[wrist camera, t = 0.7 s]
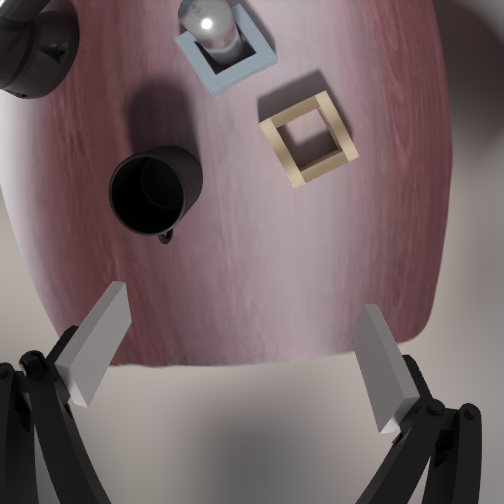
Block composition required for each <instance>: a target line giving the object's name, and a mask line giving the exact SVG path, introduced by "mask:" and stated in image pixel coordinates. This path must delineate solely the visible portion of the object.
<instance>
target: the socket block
mask: <svg viewBox="0 0 504 504" xmlns="http://www.w3.org/2000/svg"><path fill="white" fill-rule="evenodd" d="M230 9H231V12H232V15H233V18H234V21H235V24H236V27H237V28H238V30H239V31H240V33H241V34H242V36H243V37H244V38H245V40H246V41H247V43H248V44H249V46H250V47H251V49H252V50H253V52H254V53H255V54H254V55H252V56H250V57H248V58H246V59H244V60H242V61H241V62H239V63H237V64H235V65H233V66H231V67H229V68H228V69H226V70H224V71H222V72H221V73H219V74H216V72H215V71H214V69H213V68H212V66H211V65H210V63H209V62H208V60H207V59H206V57H205V56H204V54H203V53H202V51H201V50H200V48H199V46H201V44H200V43H199V42H198V41H197V40H196V39H195V38H194V36H193V35H192V34H191V33H190V32H189V31H186V32H185V33H183V34H182V35H180V36H178V37H177V38H175V41H176V42H177V44H178V45H179V47H180V48H181V50H182V51H183V53H184V54H185V56H186V57H187V59H188V60H189V62H190V63H191V65H192V67H193V68H194V70H195V71H196V73H197V74H198V76H199V77H200V79H201V81H202V82H203V84H204V85H205V87H206V88H207V90H208V92H209V93H210V95H213V96H216V95H218V94H219V93H221V92H223V91H225V90H226V89H228V88H230V87H232V86H233V85H235V84H237V83H239V82H241V81H243V80H244V79H246V78H248V77H250V76H252V75H254V74H256V73H258V72H260V71H262V70H264V69H266V68H268V67H270V66H272V65H274V64H276V63H277V60H278V58H277V56H276V55H275V53H274V52H273V50H272V49H271V47H270V46H269V44H268V43H267V41H266V40H265V38H264V37H263V35H262V34H261V32H260V31H259V30H258V28H257V27H256V25H255V24H254V22H253V21H252V20H251V18H250V17H249V15H248V14H247V13H246V11H245V10H244V9H243V7H242V6H241V5H240V3H239V4H237V5H235V6H232V7H230Z"/></svg>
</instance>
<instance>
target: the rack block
mask: <svg viewBox="0 0 504 504" xmlns="http://www.w3.org/2000/svg"><path fill="white" fill-rule="evenodd" d="M316 108H317V109H318V111H319V113H320V115H321V117H322V119H323V121H324V122H325V124H326V126H327V128H328V130H329V132H330V134H331V136H332V138H333V140H334V142H335V144H336V146H337V148H338V149H336V150H334V151H332V152H330V153H328V154H326V155H324V156H322V157H320V158H318V159H316V160H314V161H312V162H310V163H308V164H306V165H304V166H302V167H300V168H297V166H296V164H295V162H294V160H293V158H292V157H291V155H290V153H289V151H288V149H287V147H286V146H285V144H284V142H283V140H282V139H281V137H280V135H279V133H278V132H277V130H276V128H278V127H280V126H282V125H284V124H286V123H288V122H290V121H292V120H294V119H296V118H298V117H300V116H302V115H304V114H306V113H308V112H310V111H312V110H314V109H316ZM259 126H260V128H261V129H262V131H263V133H264V134H265V136H266V138H267V140H268V141H269V143H270V145H271V147H272V148H273V150H274V152H275V154H276V155H277V157H278V159H279V161H280V163H281V164H282V166H283V168H284V170H285V172H286V173H287V175H288V177H289V179H290V181H291V183H292V185H293V186H294V188H297V187H299V186H301V185H303V184H305V183H307V182H309V181H311V180H313V179H315V178H317V177H319V176H321V175H323V174H325V173H327V172H329V171H331V170H333V169H335V168H337V167H339V166H341V165H343V164H345V163H347V162H349V161H351V160H353V159H355V158H357V157H359V155H358V153H357V151H356V149H355V147H354V144H353V142H352V140H351V138H350V136H349V134H348V132H347V130H346V128H345V126H344V124H343V122H342V120H341V118H340V116H339V114H338V112H337V111H336V109H335V107H334V105H333V103H332V101H331V99H330V98H329V96H328V94H327V92H326V90H325V91H323V92H321V93H319V94H317V95H314V96H312V97H310V98H308V99H306V100H304V101H302V102H300V103H298V104H296V105H294V106H292V107H290V108H288V109H286V110H284V111H282V112H280V113H278V114H276V115H274V116H272V117H270V118H268V119H266V120H264V121H262V122H260V123H259Z"/></svg>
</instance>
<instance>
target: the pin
mask: <svg viewBox="0 0 504 504" xmlns="http://www.w3.org/2000/svg"><path fill="white" fill-rule="evenodd" d="M178 18H179V20H180V22H181V23H182V25H183V26H184V27H185V28H186V29H187V30H188V31H189V32H190V33H191V34H192V35H193V36H194V38H195V39H196V40H197V41H198V42H199V43H200V44H201V45H202V46H203V48H204V49H205V50H206V51H207V52H208V53H209V54H210V55H211V57H212V58H213V59H214V60H215V61H216V62H217V63H218V64H220V65H224V66H230V65H234V64H236V63H237V62H239V61H240V60H241V58H242V56H243V53H244V49H243V46H242V43H241V39H240V36H239V33H238V30H237V27H236V24H235V21H234V18H233V15H232V12H231V9H230V6H229V3H228V1H227V0H183V2H182V3H181V4H180V7H179V10H178Z"/></svg>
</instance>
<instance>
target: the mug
mask: <svg viewBox="0 0 504 504" xmlns="http://www.w3.org/2000/svg"><path fill="white" fill-rule="evenodd" d="M202 184H203V176H202V171H201V168H200V166H199V164H198V162H197V161H196V159H195V158H194V157H193V156H192V155H191V154H190V153H189V152H187V151H186V150H184V149H182V148H180V147H176V146H162V147H158V148H155V149H151V150H148V151H145V152H141V153H138V154H135V155H132V156H130V157H128V158H126V159H125V160H124V161H122V162H121V163H120V164H119V165H118V167H117V168H116V169H115V171H114V173H113V175H112V177H111V180H110V184H109V201H110V205H111V208H112V210H113V212H114V214H115V216H116V217H117V219H118V220H119V221H120V223H121V224H123V225H124V226H125V227H126V228H127V229H129V230H130V231H132V232H134V233H137V234H140V235H144V236H156V235H158V237H159V240H160V242H161V243H163V244H168V243H169V242H170V240H171V238H172V234H173V228H174V227H175V226H176V225H177V224H178V223H179V221H180V220H181V219H182V218H183V216H184V215H185V214H186V213H187V211H188V210H189V209H190V208H191V207H192V205H193V204H194V203H195V202H196V200H197V199H198V197H199V195H200V193H201V190H202ZM166 232H167V234H166V236H165V235H164V233H166Z"/></svg>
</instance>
